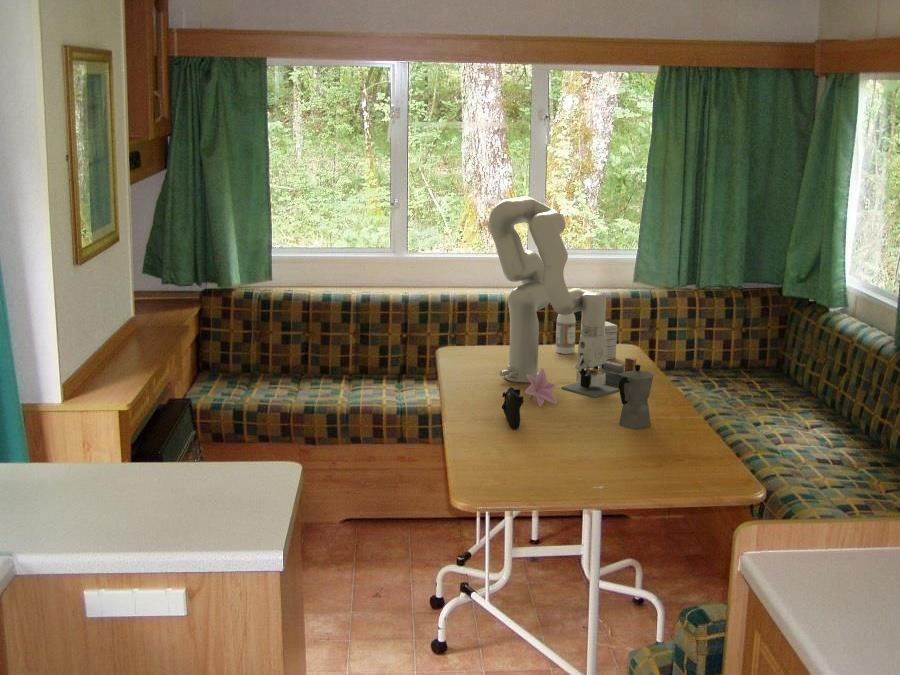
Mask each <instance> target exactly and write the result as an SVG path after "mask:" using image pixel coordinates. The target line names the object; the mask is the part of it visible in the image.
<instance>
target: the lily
mask: <svg viewBox="0 0 900 675" xmlns="http://www.w3.org/2000/svg"><path fill="white" fill-rule="evenodd" d="M538 372H539V374H538V376H537V378H535V377H533V376H531V375H528V374H526V375H527V377H528V379H529V381H530V382H529V383H530V385H529V386H528V387H527V388H526V389H525V390H524V393H525V394H527V395H531V397H530V398H529V401H531V400H532V398H534V396H535V397H536V402H537V405H538V407H539V408H541V406H543V404H544V402H545V400H546V401H548V402H550V403H552V404H554V405H557V404H558V401H557V399H556V396H555V395H554V393H553V392H552V390H554V389H555V388H556V384H554V383H552V382H548V378H547V375H546V372H545V369H544V368H543V367H542V368H541V369H540V370H539V371H538Z"/></svg>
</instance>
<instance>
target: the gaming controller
mask: <svg viewBox="0 0 900 675" xmlns="http://www.w3.org/2000/svg"><path fill="white" fill-rule="evenodd" d="M501 396H502V398H504V401H503V403H502V406H501V409H502V411H503V413H504V415H505V419H506V421H507V423H508V425H509V427H510V428H511V429H512V430H517V429H519V428H520V426H521V412H520V411H521V406H522V405H523V403H525V400H524V396H523V395H522V396H521V388H520V389H519V388H518V389H517V388H516V389H515V388H514V387H509V388H508V389H507V391H506V392H503V393H502V395H501Z"/></svg>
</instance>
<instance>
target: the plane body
mask: <svg viewBox="0 0 900 675" xmlns="http://www.w3.org/2000/svg"><path fill="white" fill-rule="evenodd" d="M624 361H625V362H624V363H625V364H621V363H619V362H618V363H617V362H613V361H611V360H607V362H606V363H605V364H604V367H603V368H602V372H603V373H606V378H605V384H607V385H611V386H615V387H618V388H619V382H620V380H621V374H622V373H623V372H627V371H636V369H635V365H637V359H636V358H632V357H625V360H624ZM592 368H593V367H592ZM584 369H586V368H584Z"/></svg>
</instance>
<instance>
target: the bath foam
mask: <svg viewBox="0 0 900 675" xmlns="http://www.w3.org/2000/svg"><path fill="white" fill-rule="evenodd" d="M576 325H577V321H576V315H575V312H574V313H572V314H569V315H560V314H557V317H556V330H555V352H556V353H557V354H559V353H561V354H560V355H572V354H574V353H575V349H576V348H575V347H576V330H577V329H576V327H577V326H576ZM571 353H572V354H571Z"/></svg>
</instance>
